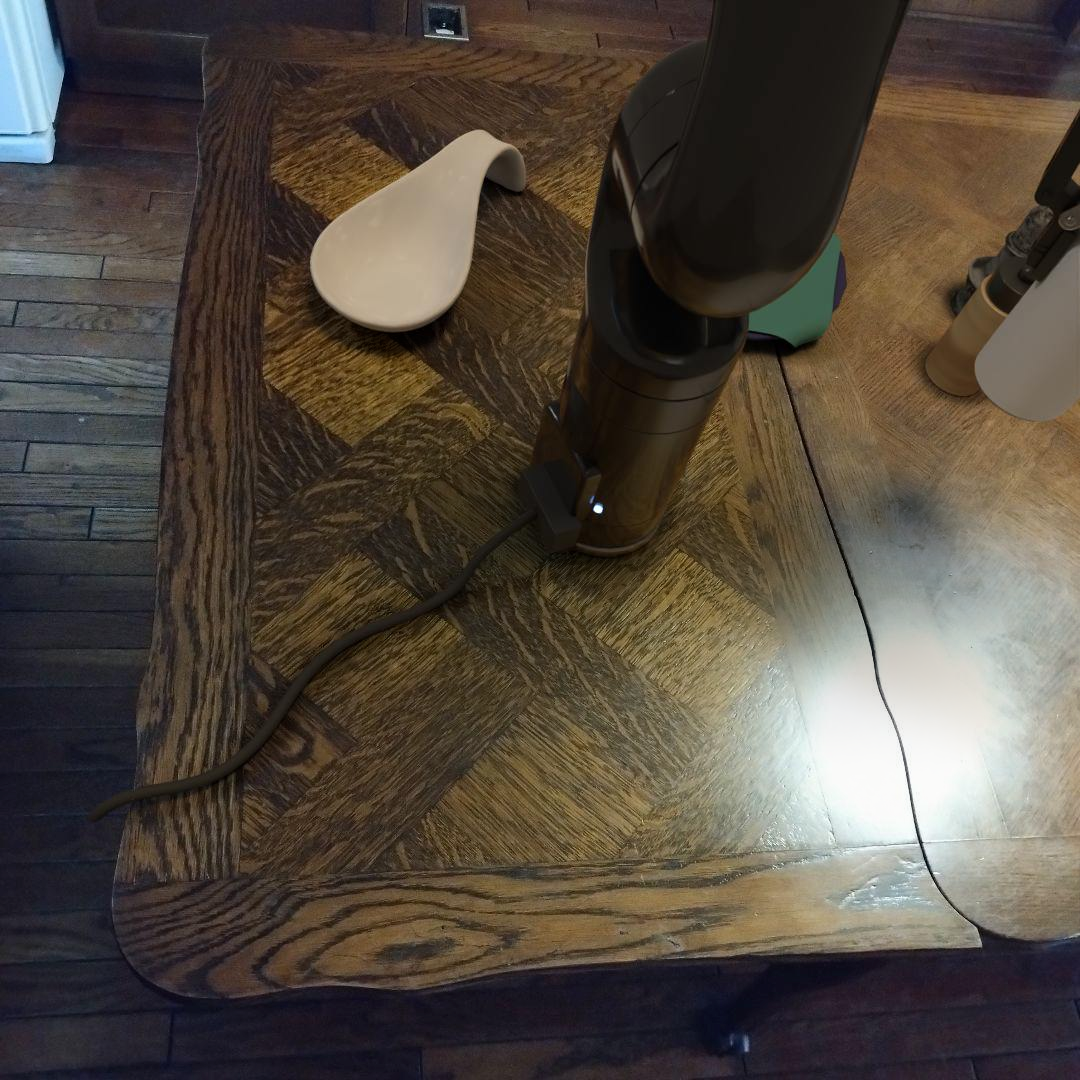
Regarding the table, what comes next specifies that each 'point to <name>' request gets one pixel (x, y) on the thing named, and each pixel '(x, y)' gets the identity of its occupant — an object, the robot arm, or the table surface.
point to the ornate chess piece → (1003, 254)
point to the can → (1037, 347)
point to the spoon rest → (412, 237)
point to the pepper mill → (977, 327)
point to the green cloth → (804, 302)
